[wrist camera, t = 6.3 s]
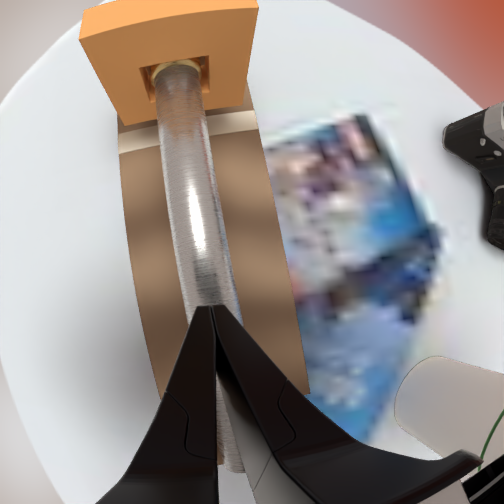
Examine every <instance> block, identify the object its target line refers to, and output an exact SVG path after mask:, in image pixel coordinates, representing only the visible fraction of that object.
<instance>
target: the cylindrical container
mask: <svg viewBox="0 0 504 504" xmlns="http://www.w3.org/2000/svg"><path fill="white" fill-rule="evenodd" d="M394 410H395V417H396V420H397V423H398V424H399V426H400V427H401V428H402V429H404V430H405V431H406V432H408V433H409V434H410V435H412V436H413V437H415V438H416V439H417V440H419V441H420V442H422V443H423V444H424V445H426V446H427V447H429V448H430V449H431V450H433V451H434V452H436V453H437V454H439V455H440V456H441V457H443V458H445V457H447V456H449V455H451V454H452V453H454V452H456V451H458V450H460V449H463V450H466V451H469V452H472V453H474V454H476V455H478V456H479V457H480V458H481V459H482V460H484V462H483V463H482V464H481V465H480V466H478V467H477V468H476V469H474V470H473V471H471V472H470V473H468V475H469V476H473V475H474V474H475V473H477V472H478V471H480V470H481V469H483V468H484V467H486V466H487V465H488V464H490V463H491V462H493V461H494V460H495V459H497V458H498V457H500V456H501V455H503V454H504V374H502V373H498V372H495V371H491V370H487V369H483V368H480V367H476V366H472V365H469V364H465V363H462V362H458V361H455V360H451V359H448V358H444V357H441V356H434V357H430V358H427V359H425V360H423V361H422V362H420V363H419V364H417V365H416V366H415V367H414V368H413V369H412V370H411V371H410V372H409V373H408V375H407V376H406V377H405V379H404V380H403V382H402V384H401V386H400V388H399V390H398V393H397V396H396V400H395V408H394Z"/></svg>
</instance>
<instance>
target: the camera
mask: <svg viewBox="0 0 504 504" xmlns="http://www.w3.org/2000/svg"><path fill="white" fill-rule="evenodd" d="M442 144H443V148H444V149H446V150H448V151H449V152H451V153H452V154H454V155H455V156H457V157H458V158H460V159H462V160H463V161H465V162H466V163H468V164H469V165H470V166H472V167H473V168H475V169H476V170H478V171H479V172H480V173H482V175H483V177H484V178H485V180H486V182H487V183H488V185H489V187H490V188H491V190H492V192H493V194H494V200H493V212H492V217H491V221H490V223H489V230H488V233H487V236H488V241H489V242H490V243H491V244H492V245H494V246H496V247H498V248H500V249H502V250H504V101H503V102H501V103H498V104H496V105H493V106H491V107H488V108H487V109H485V110H482V111H480V112H477V113H475V114H473V115H470V116H468V117H466V118H463V119H461V120H459V121H456V122H454V123H451V124H449V125H448V126H447V127H446V128H445V129H444V135H443V140H442Z"/></svg>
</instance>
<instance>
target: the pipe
mask: <svg viewBox="0 0 504 504" xmlns="http://www.w3.org/2000/svg"><path fill="white" fill-rule="evenodd" d="M150 69H151V83H152V85H153V86H154V87H155V98H156V111H157V122H158V132H159V142H160V152H161V160H162V169H163V177H164V185H165V192H166V200H167V207H168V214H169V221H170V227H171V234H172V240H173V246H174V252H175V258H176V264H177V269H178V275H179V280H180V286H181V291H182V296H183V301H184V307H185V312H186V316H187V321H188V326H189V324H190V322H191V319H192V316H193V314H194V311H195V308H196V307H197V306H198V305H210V307H211V305H214V304H224V305H225V306H226V307H227V308H228V309H229V310H230V311H231V313H232V314H233V315H234V316H235V317H236V319H237V320H238V321H239V322H240V323H241V325H242V326H243V327H244V324H243V319H242V314H241V309H240V304H239V299H238V294H237V289H236V284H235V278H234V273H233V268H232V263H231V257H230V252H229V247H228V241H227V236H226V230H225V225H224V220H223V214H222V209H221V203H220V197H219V192H218V186H217V180H216V175H215V169H214V163H213V157H212V151H211V146H210V140H209V134H208V128H207V122H206V116H205V109H204V103H203V97H202V91H201V84H200V79H201V77H202V71H201V65H200V59H199V57H193V58H187V59H181V60H175V61H169V62H164V63H159V64H154V65H150ZM216 406H217V443H218V447H219V450H220V454H221V457H222V461H223V464H224V467H225V468H226V469H227V470H229V471H231V472H235V473H246V471H245V468H244V465H243V462H242V459H241V456H240V453H239V449H238V446H237V443H236V440H235V437H234V433H233V430H232V427H231V423H230V420H229V417H228V413H227V410H226V407H225V403H224V400H223V396H222V393H221V389H220V385H219V382H218V378H217V374H216Z"/></svg>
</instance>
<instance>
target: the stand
mask: <svg viewBox="0 0 504 504" xmlns="http://www.w3.org/2000/svg"><path fill="white" fill-rule="evenodd" d="M199 59H200V65H205V56H200V57H199ZM146 68H147V72H148V75H150V74H151V69H150V65H149V66H146ZM205 116H206V122H207V128H208V134H209V140H210V146H211V151H212V157H213V163H214V169H215V175H216V180H217V186H218V192H219V197H220V203H221V209H222V214H223V220H224V225H225V230H226V236H227V241H228V247H229V252H230V257H231V263H232V268H233V273H234V278H235V284H236V289H237V294H238V299H239V304H240V309H241V314H242V319H243V324H244V328H245V329H246V331H247V332H248V333H249V334H250V335H251V337H252V338H253V339H254V340H255V341H256V342H257V344H258V345H259V346H260V347H261V348H262V349H263V351H264V352H265V353H266V354H267V355H268V356H269V357H270V359H271V360H272V361H273V362H274V363H275V364H276V365H277V367H278V368H279V369H280V370H281V371H282V372H283V373H284V375H285V376H286V377H287V378H288V379H287V380H290V381H291V382H292V383H293V385H294V386H295V387H296V388H297V389H298V390H299V391H300V392H301V393H302V394H303V395H307V394H310V388H309V382H308V376H307V371H306V365H305V359H304V353H303V347H302V342H301V336H300V330H299V325H298V319H297V314H296V309H295V303H294V298H293V292H292V287H291V282H290V277H289V272H288V266H287V261H286V256H285V251H284V246H283V241H282V236H281V231H280V226H279V222H278V217H277V212H276V207H275V202H274V198H273V193H272V188H271V184H270V179H269V174H268V170H267V165H266V161H265V156H264V152H263V147H262V143H261V139H260V134H259V128H258V124H257V119H256V115H255V111H254V108H253V104H252V100H251V96H250V91H249V87H248V83H247V79H246V85H245V92H244V98H243V104H242V105H240V106H232V107H224V108H217V109H210V110H205ZM117 119H118V152H119V161H120V175H121V187H122V198H123V207H124V216H125V225H126V233H127V240H128V247H129V254H130V261H131V267H132V273H133V279H134V285H135V291H136V296H137V301H138V307H139V312H140V317H141V321H142V326H143V331H144V335H145V340H146V344H147V349H148V353H149V357H150V361H151V365H152V369H153V373H154V377H155V381H156V384H157V388H158V392H159V395H160V399H161V400H162V397H163V394H164V392H165V389H166V386H167V383H168V381H169V378H170V375H171V372H172V370H173V367H174V364H175V362H176V359H177V356H178V353H179V351H180V348H181V345H182V343H183V340H184V337H185V335H186V332H187V329H188V327H189V326H188V321H187V316H186V312H185V307H184V301H183V296H182V291H181V286H180V280H179V275H178V269H177V264H176V258H175V252H174V246H173V240H172V234H171V227H170V221H169V214H168V207H167V200H166V192H165V185H164V177H163V169H162V160H161V152H160V142H159V132H158V122H157V119H154V120H149V121H145V122H140V123H136V124H132V125H127V126H124V124H123V122H122V120H121V118H120V117H119V115H118V113H117ZM217 463H218V465H221V464H223V461H222V457H221V454H220V450H219V447H218V443H217Z"/></svg>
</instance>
